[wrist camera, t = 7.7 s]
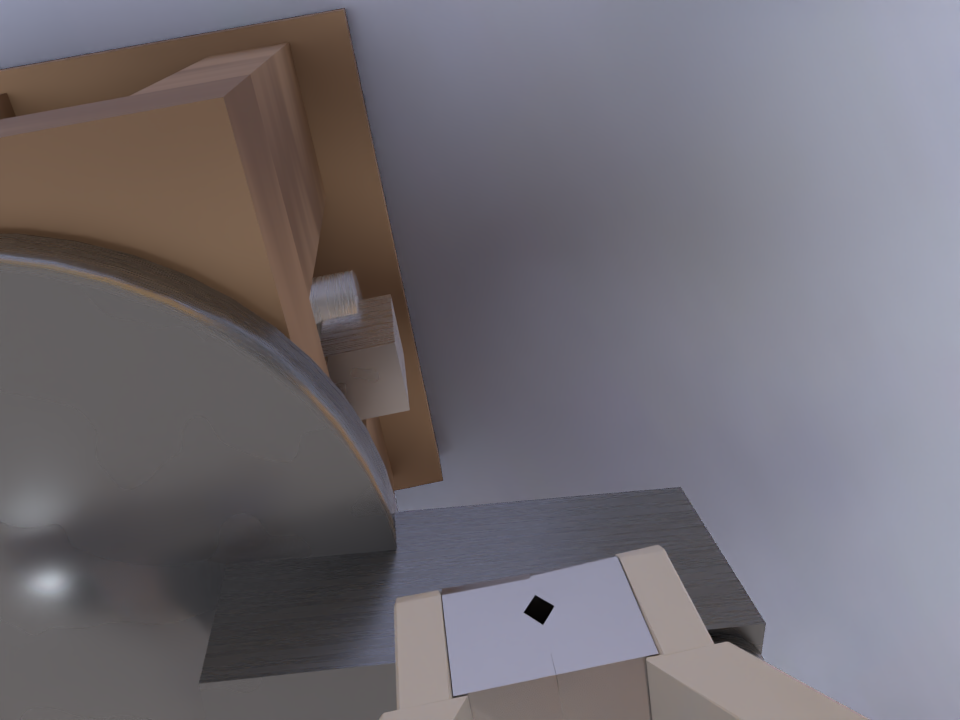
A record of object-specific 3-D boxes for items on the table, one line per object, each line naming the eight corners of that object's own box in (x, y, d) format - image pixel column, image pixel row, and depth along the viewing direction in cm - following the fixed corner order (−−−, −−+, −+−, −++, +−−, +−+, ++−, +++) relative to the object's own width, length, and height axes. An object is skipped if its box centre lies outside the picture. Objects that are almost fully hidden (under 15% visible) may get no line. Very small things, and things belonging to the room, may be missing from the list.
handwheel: (-199, 849, 15) (-476, 1280, 10) (-502, 256, 11) (-1270, 503, 6) (651, 747, 17) (774, 1075, 12) (698, 195, 12) (929, 344, 7)
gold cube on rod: (405, 330, 26) (422, 465, 19) (-248, 458, 25) (-494, 652, 18) (375, 189, 24) (380, 279, 17) (-331, 323, 23) (-644, 477, 16)
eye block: (439, 456, 28) (489, 773, 17) (78, 530, 28) (-118, 908, 16) (344, 8, 22) (325, 36, 11) (-116, 90, 22) (-627, 208, 11)
